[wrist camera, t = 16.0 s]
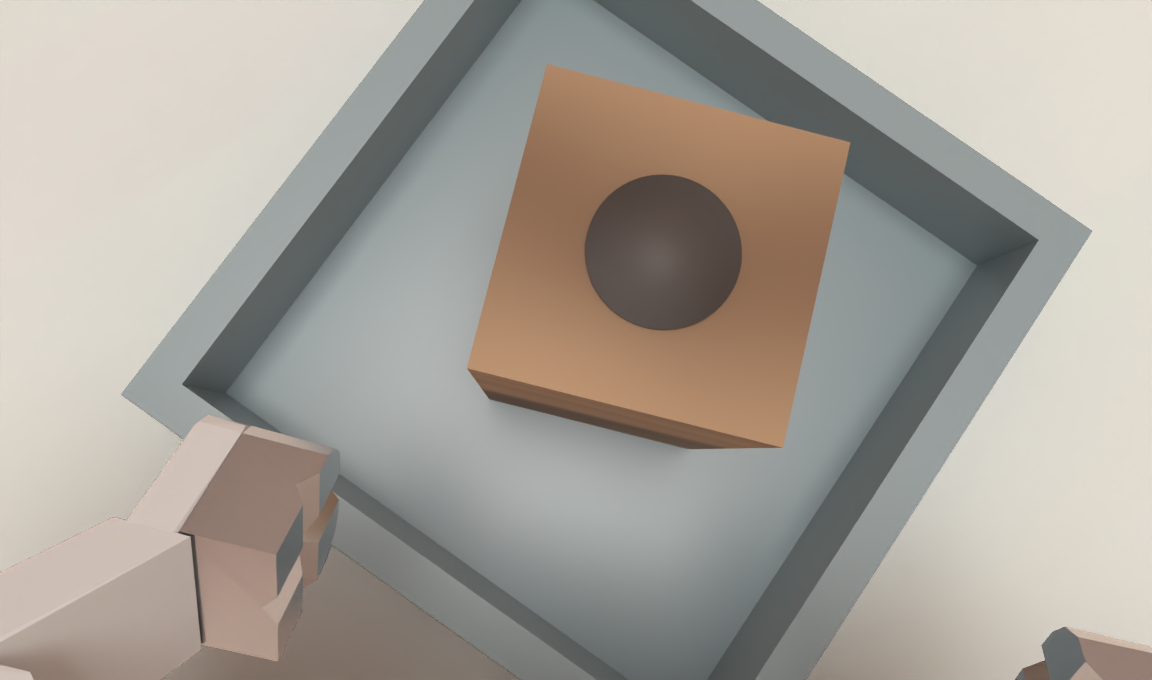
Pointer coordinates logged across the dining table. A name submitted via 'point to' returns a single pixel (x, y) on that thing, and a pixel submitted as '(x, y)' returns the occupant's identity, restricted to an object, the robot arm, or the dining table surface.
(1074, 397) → the dining table surface
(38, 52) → the dining table surface
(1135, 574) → the dining table surface
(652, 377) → the walnut block
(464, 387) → the tray
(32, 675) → the robot arm
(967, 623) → the dining table surface
